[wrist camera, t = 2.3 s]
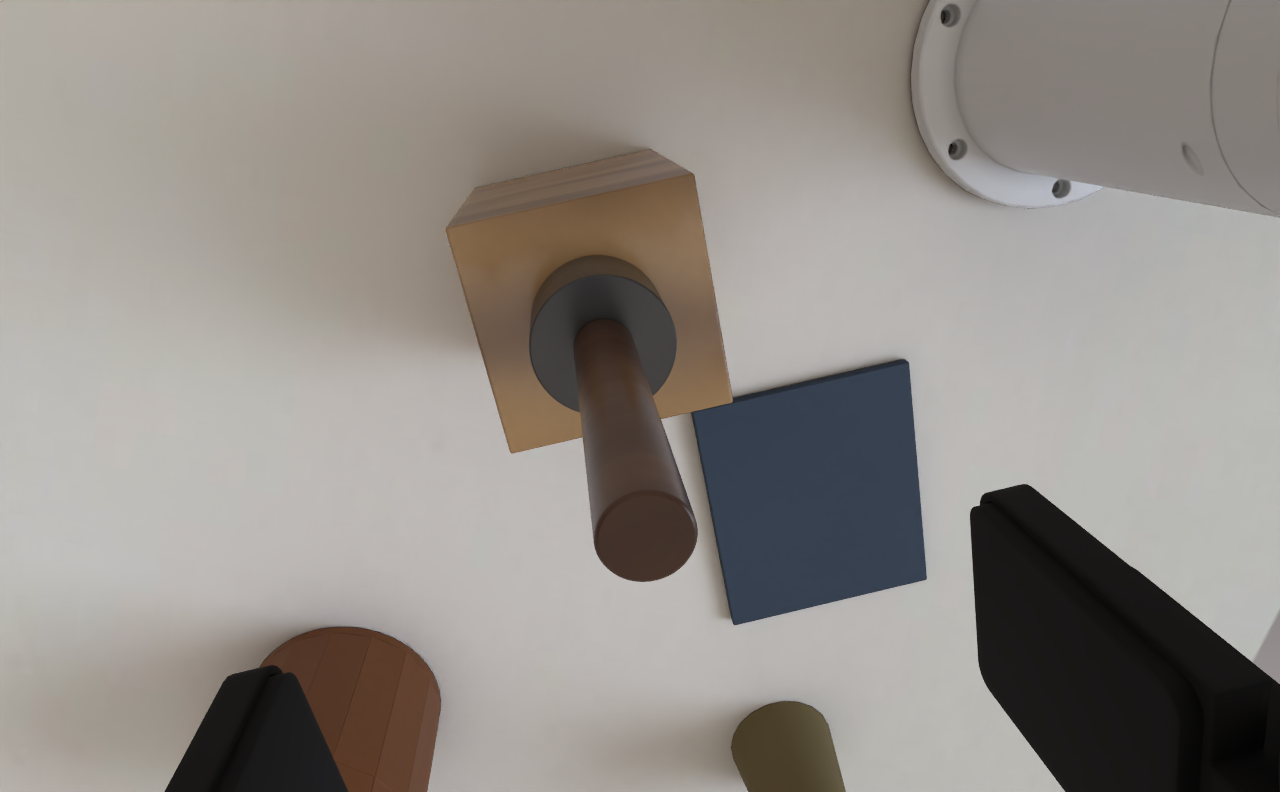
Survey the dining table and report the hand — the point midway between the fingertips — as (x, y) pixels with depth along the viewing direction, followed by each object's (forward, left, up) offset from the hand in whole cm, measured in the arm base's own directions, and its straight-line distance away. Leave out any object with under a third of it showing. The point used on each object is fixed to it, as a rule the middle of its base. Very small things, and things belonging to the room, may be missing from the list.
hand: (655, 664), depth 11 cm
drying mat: (+15, +9, -28) cm, 33 cm away
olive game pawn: (+31, +5, -28) cm, 42 cm away
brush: (0, 0, -17) cm, 17 cm away
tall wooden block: (0, 0, -28) cm, 28 cm away
